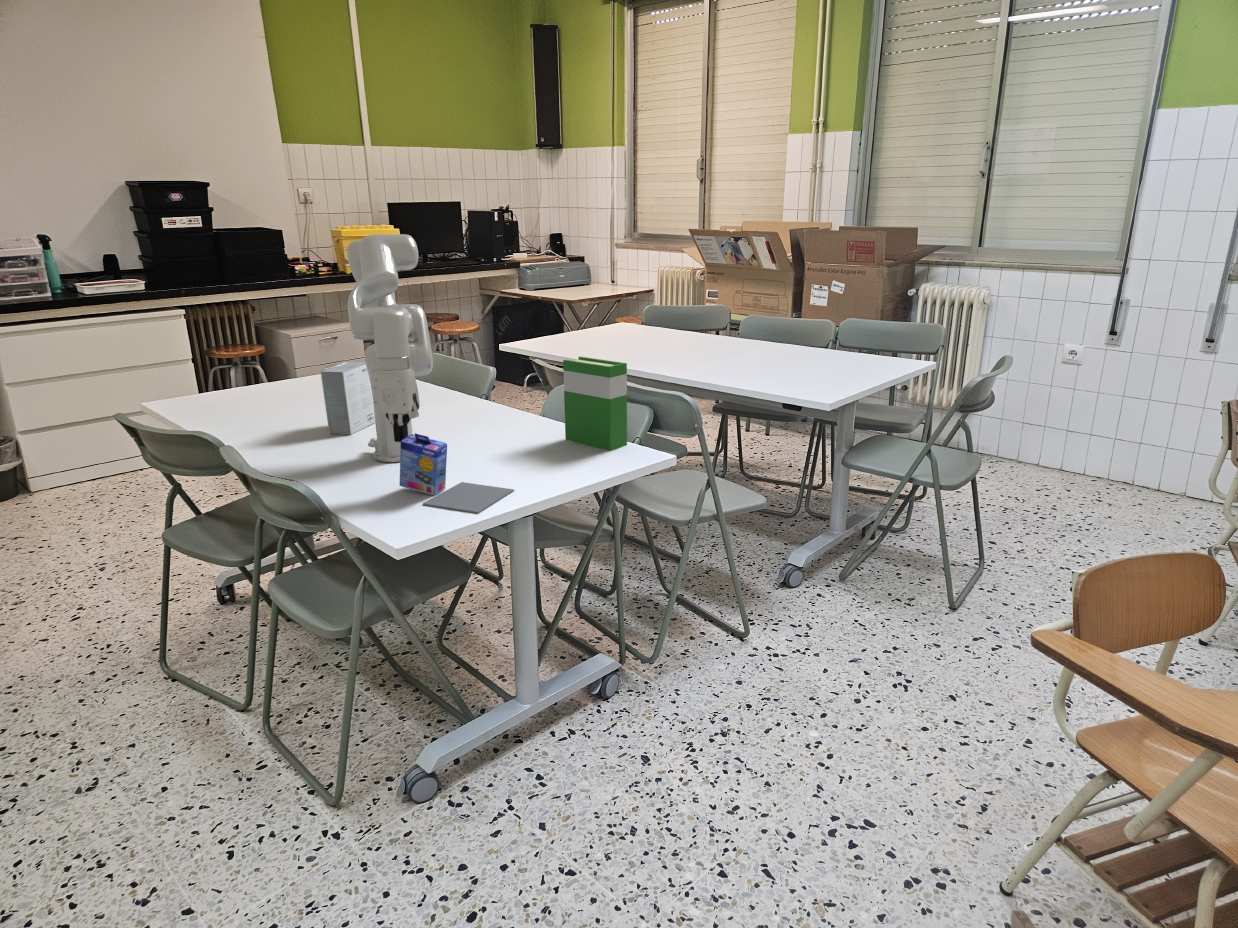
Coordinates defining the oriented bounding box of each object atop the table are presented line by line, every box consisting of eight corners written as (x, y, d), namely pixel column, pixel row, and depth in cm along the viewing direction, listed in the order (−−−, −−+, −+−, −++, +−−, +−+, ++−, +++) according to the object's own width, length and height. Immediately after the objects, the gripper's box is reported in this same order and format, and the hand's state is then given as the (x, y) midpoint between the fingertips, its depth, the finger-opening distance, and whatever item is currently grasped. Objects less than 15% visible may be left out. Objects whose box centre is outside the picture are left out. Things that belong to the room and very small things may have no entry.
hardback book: (565, 440, 226) (563, 360, 219) (582, 434, 231) (580, 356, 224) (610, 450, 215) (609, 367, 208) (627, 445, 221) (626, 363, 213)
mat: (422, 504, 175) (422, 503, 175) (461, 483, 189) (461, 481, 189) (478, 513, 170) (478, 512, 170) (514, 491, 184) (514, 489, 184)
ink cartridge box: (397, 486, 183) (399, 431, 177) (409, 478, 188) (411, 424, 182) (434, 497, 181) (437, 441, 175) (445, 488, 186) (449, 433, 180)
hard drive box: (354, 421, 248) (347, 361, 242) (376, 422, 247) (369, 362, 241) (327, 434, 234) (319, 370, 228) (350, 435, 232) (342, 371, 226)
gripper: (357, 365, 176) (366, 442, 181) (409, 367, 170) (417, 447, 175) (379, 360, 182) (387, 434, 187) (430, 363, 177) (437, 439, 182)
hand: (401, 440), depth 181 cm, fingers closed
